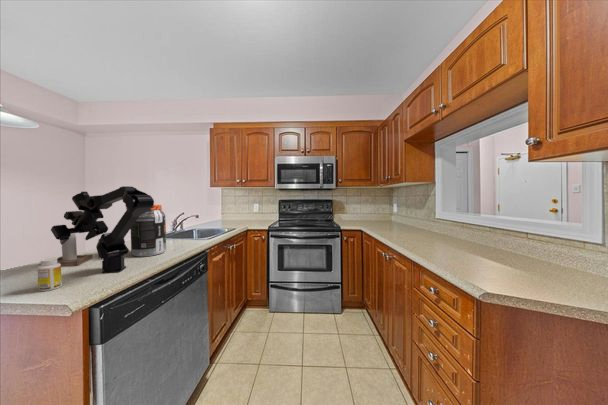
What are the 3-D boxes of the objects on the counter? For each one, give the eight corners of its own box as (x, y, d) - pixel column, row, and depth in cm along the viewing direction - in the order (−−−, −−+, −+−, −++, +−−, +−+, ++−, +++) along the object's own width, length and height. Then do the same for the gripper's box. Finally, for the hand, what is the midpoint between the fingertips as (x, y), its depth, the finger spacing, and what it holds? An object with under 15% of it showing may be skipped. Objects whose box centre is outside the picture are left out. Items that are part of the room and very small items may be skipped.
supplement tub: (172, 252, 131) (171, 205, 129) (140, 259, 118) (138, 206, 116) (157, 248, 139) (155, 203, 138) (125, 254, 126) (124, 205, 125)
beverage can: (64, 262, 108) (62, 236, 107) (61, 260, 110) (59, 234, 110) (78, 259, 112) (77, 234, 111) (75, 258, 114) (74, 233, 114)
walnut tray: (92, 258, 118) (92, 254, 118) (77, 265, 107) (77, 261, 107) (62, 260, 115) (62, 256, 115) (43, 268, 103) (43, 263, 103)
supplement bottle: (61, 283, 86) (59, 256, 86) (62, 288, 83) (61, 258, 82) (38, 288, 82) (36, 259, 82) (38, 293, 79) (37, 262, 78)
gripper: (103, 203, 115) (89, 225, 120) (52, 206, 98) (37, 231, 102) (115, 220, 113) (100, 242, 117) (65, 226, 96) (50, 251, 100)
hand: (74, 241), depth 109 cm, fingers open, 9 cm apart
